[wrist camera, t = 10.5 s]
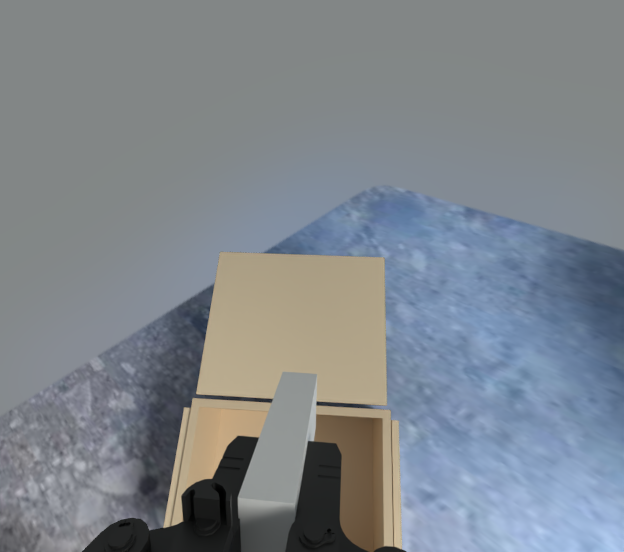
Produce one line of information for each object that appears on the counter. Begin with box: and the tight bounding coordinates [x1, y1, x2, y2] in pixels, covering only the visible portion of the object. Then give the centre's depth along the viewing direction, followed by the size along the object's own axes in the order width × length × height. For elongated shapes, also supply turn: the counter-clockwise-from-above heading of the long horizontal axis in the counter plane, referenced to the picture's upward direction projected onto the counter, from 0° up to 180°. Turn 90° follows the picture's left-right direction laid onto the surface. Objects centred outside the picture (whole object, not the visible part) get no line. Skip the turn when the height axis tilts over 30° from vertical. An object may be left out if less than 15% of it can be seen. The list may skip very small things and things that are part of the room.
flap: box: [196, 252, 387, 406], centre depth 30 cm, size 14×1×12 cm
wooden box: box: [163, 398, 402, 552], centre depth 29 cm, size 16×12×7 cm
